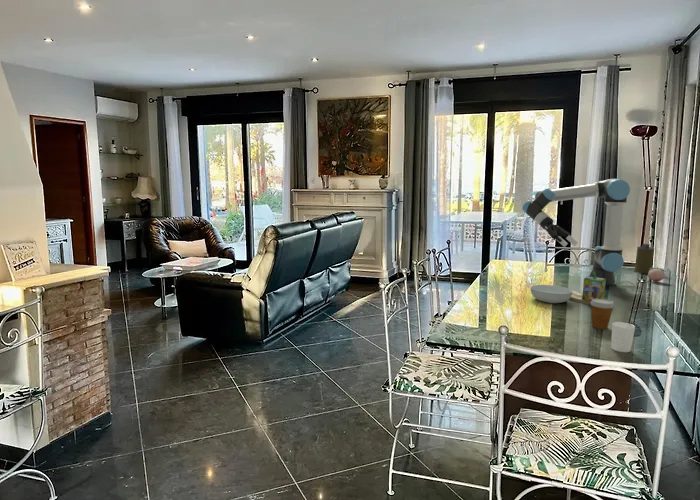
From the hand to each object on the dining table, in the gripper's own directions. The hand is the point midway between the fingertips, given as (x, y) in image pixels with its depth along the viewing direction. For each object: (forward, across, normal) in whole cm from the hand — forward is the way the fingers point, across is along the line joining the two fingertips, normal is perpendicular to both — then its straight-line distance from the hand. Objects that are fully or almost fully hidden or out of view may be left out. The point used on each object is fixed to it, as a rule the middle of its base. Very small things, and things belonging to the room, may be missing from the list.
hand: (571, 244), depth 291 cm
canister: (+22, -98, -13) cm, 102 cm away
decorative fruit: (+36, -70, -5) cm, 79 cm away
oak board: (+26, +14, -15) cm, 33 cm away
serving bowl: (+20, +32, -20) cm, 43 cm away
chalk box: (+32, +16, -10) cm, 37 cm away
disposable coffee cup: (+50, +58, -1) cm, 76 cm away
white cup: (+64, +81, +8) cm, 103 cm away
